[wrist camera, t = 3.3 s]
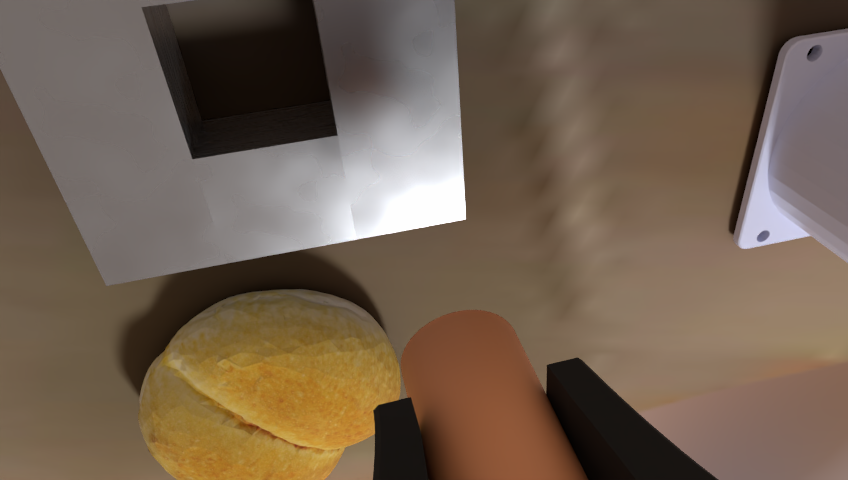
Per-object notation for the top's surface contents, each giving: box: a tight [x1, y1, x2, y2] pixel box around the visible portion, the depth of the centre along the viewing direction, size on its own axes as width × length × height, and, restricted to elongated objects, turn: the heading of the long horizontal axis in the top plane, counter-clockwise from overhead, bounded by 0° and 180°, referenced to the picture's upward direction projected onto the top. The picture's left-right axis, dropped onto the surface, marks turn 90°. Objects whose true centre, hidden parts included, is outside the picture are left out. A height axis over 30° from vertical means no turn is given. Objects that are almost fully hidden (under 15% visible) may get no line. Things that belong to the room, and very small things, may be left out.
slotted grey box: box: [0, 0, 466, 286], centre depth 13 cm, size 10×13×5 cm
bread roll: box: [138, 289, 400, 480], centre depth 21 cm, size 8×9×4 cm
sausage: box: [401, 310, 588, 480], centre depth 11 cm, size 3×3×6 cm
